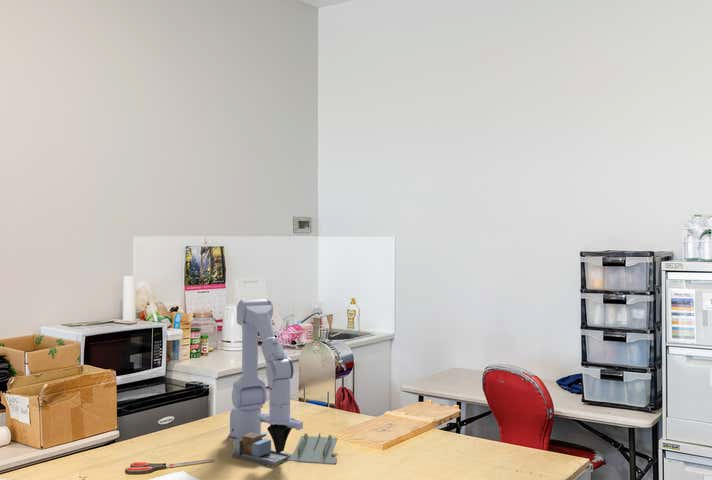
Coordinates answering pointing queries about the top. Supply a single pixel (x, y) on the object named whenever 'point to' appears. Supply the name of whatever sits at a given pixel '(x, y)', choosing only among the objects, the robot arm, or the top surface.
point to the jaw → (261, 447)
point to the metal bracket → (314, 450)
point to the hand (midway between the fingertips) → (279, 451)
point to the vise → (267, 459)
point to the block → (249, 442)
